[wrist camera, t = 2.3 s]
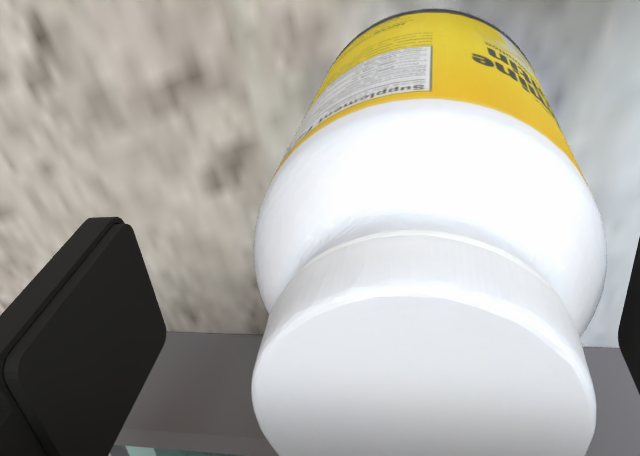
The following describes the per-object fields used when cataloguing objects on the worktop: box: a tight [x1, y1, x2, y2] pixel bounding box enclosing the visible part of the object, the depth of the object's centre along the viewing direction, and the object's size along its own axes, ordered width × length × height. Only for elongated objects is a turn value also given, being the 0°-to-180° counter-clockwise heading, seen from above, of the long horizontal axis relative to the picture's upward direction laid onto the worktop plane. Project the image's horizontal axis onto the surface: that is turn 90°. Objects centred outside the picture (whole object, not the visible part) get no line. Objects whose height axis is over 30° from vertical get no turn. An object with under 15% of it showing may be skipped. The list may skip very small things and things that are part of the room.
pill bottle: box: [251, 8, 607, 456], centre depth 13 cm, size 6×6×12 cm
